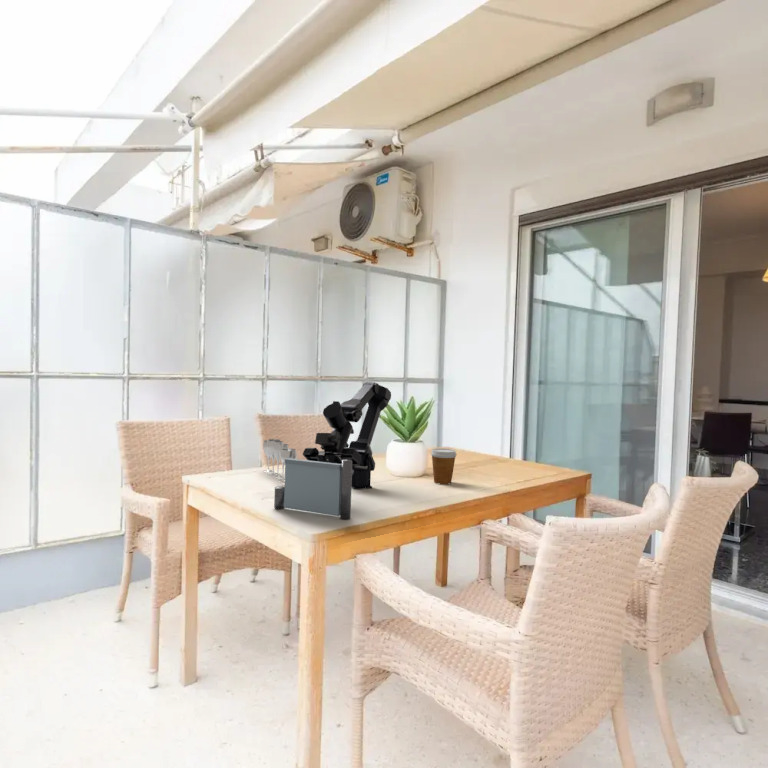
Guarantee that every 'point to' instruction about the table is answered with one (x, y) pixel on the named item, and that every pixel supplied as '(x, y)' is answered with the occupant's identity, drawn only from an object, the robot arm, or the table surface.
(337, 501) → the panel
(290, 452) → the goblet set
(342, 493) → the posts
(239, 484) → the table surface
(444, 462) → the disposable coffee cup
